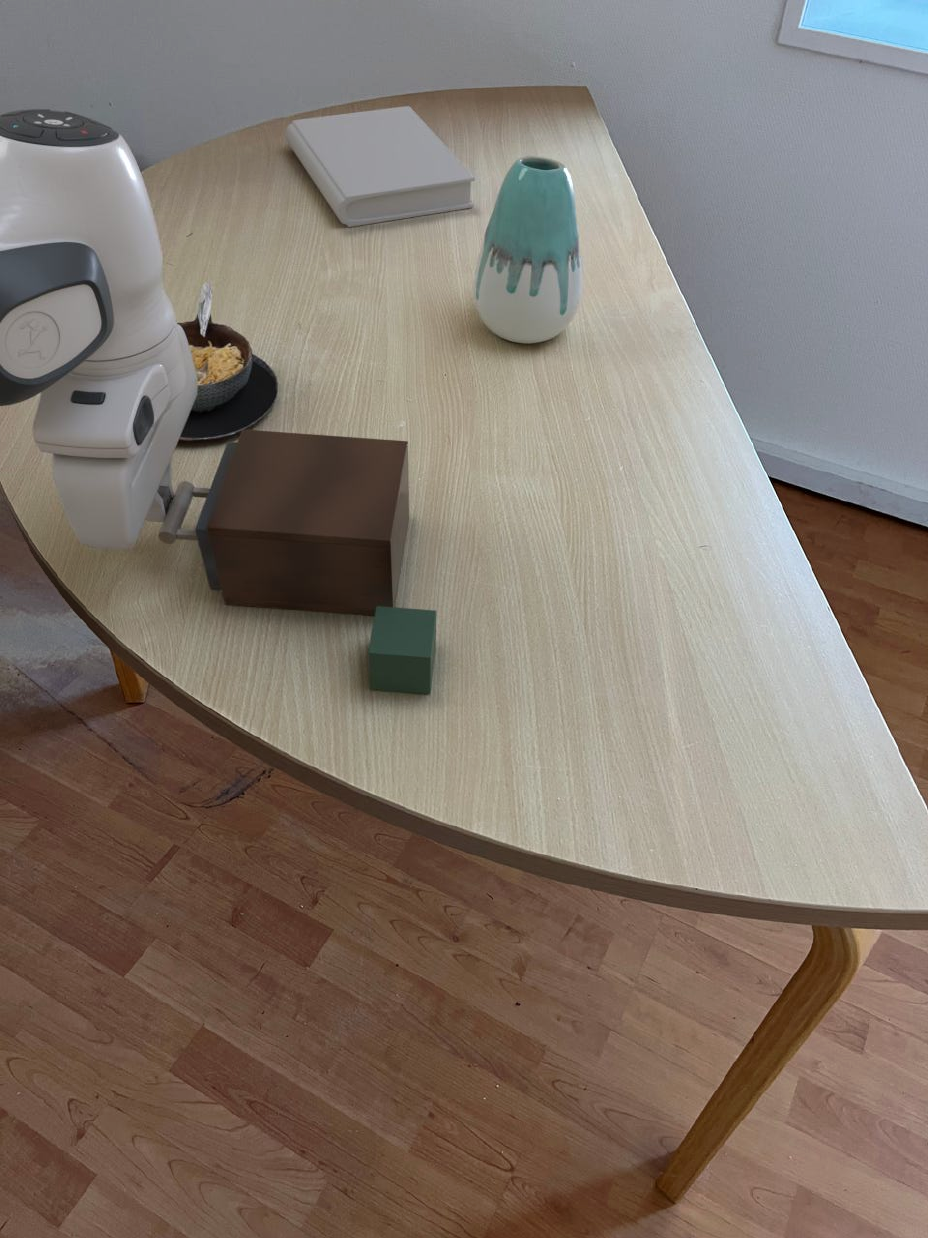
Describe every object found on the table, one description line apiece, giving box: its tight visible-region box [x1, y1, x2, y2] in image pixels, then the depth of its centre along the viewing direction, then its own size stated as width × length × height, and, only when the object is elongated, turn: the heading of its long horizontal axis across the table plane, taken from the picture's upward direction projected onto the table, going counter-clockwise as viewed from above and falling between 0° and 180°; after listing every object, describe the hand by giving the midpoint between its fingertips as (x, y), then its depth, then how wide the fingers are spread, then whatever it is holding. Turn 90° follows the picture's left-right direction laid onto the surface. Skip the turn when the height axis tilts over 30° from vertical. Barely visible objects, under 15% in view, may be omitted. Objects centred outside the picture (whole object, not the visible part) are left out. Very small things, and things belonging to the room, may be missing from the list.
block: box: [367, 606, 437, 695], centre depth 69 cm, size 4×4×4 cm
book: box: [285, 105, 476, 228], centre depth 123 cm, size 18×4×24 cm
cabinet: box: [207, 429, 410, 617], centre depth 75 cm, size 14×12×9 cm
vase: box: [472, 155, 584, 344], centre depth 95 cm, size 12×12×18 cm
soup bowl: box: [177, 281, 279, 442], centre depth 89 cm, size 15×16×7 cm
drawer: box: [157, 441, 238, 592], centre depth 75 cm, size 17×10×7 cm, turn 86°
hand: (159, 509), depth 75 cm, fingers closed, pressing on drawer
